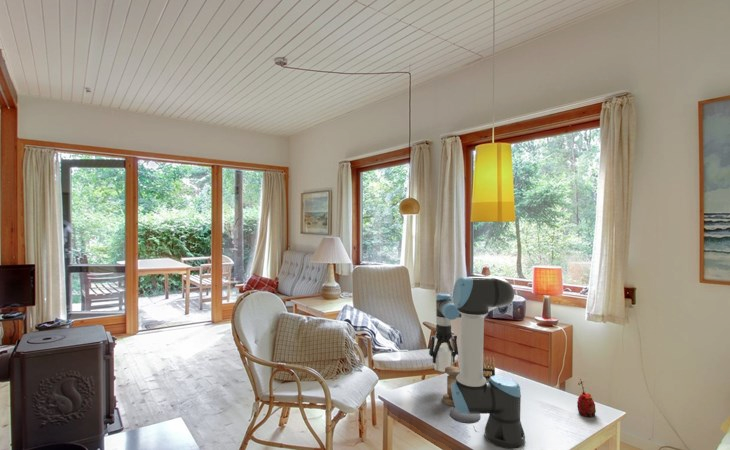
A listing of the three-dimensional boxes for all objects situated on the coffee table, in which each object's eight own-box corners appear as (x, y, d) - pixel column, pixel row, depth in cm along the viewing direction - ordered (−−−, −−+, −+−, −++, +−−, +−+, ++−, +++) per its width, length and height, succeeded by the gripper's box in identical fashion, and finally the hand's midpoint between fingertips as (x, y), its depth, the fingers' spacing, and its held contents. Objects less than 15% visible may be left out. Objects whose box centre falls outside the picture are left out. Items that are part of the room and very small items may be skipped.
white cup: (440, 373, 189) (440, 353, 189) (433, 367, 197) (433, 348, 197) (454, 371, 191) (454, 351, 191) (447, 366, 199) (447, 346, 199)
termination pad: (485, 421, 163) (485, 420, 163) (457, 424, 161) (457, 422, 161) (472, 406, 176) (472, 405, 176) (445, 409, 174) (445, 407, 174)
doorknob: (467, 405, 177) (468, 373, 177) (447, 407, 176) (447, 374, 176) (459, 395, 187) (459, 365, 187) (439, 397, 186) (439, 366, 185)
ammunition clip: (494, 377, 209) (494, 356, 209) (495, 379, 207) (495, 357, 207) (474, 376, 211) (474, 354, 211) (474, 377, 209) (475, 355, 209)
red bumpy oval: (588, 419, 165) (588, 385, 165) (573, 412, 171) (573, 379, 171) (599, 415, 169) (599, 382, 168) (583, 408, 175) (584, 376, 175)
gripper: (459, 321, 199) (459, 365, 199) (422, 323, 196) (422, 367, 196) (465, 325, 192) (465, 370, 192) (427, 327, 188) (426, 373, 188)
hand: (443, 368), depth 194 cm, fingers closed on white cup, 7 cm apart
